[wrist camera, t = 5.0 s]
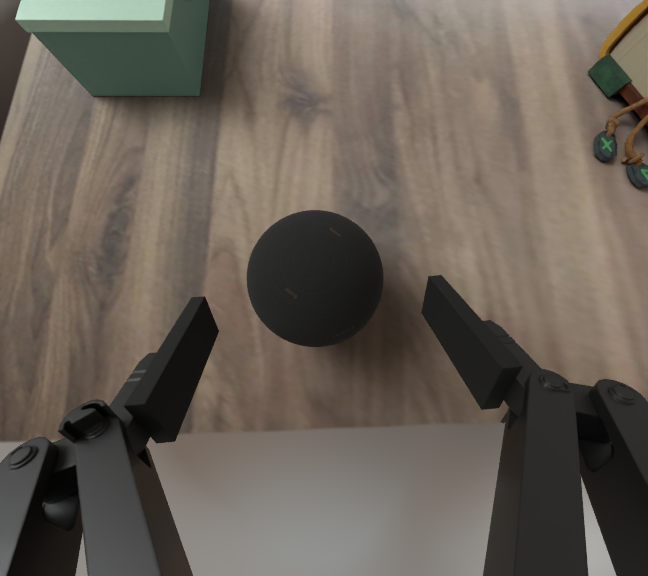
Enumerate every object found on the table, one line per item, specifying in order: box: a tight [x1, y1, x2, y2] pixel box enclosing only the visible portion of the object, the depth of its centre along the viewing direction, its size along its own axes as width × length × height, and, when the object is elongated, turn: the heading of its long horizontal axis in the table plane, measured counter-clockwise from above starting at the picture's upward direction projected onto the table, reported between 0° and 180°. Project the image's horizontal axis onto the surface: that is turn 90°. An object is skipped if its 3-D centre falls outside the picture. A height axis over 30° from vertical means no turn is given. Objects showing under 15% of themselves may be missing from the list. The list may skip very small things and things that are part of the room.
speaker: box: [247, 210, 383, 347], centre depth 19 cm, size 10×10×10 cm
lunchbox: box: [15, 0, 210, 96], centre depth 26 cm, size 16×13×7 cm
